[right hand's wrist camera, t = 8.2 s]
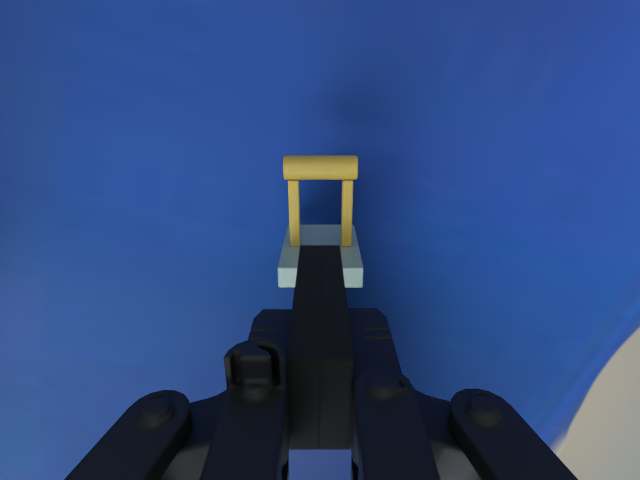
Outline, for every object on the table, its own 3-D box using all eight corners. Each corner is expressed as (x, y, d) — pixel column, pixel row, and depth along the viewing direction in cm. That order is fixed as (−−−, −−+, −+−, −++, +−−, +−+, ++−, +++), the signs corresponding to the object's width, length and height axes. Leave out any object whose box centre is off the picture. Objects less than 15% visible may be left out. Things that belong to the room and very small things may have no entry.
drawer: (284, 145, 25) (272, 167, 19) (356, 145, 25) (368, 167, 18) (294, 424, 34) (288, 501, 27) (347, 424, 34) (353, 501, 27)
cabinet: (284, 334, 31) (272, 421, 23) (357, 334, 31) (368, 421, 23) (291, 499, 39) (284, 606, 31) (350, 499, 39) (357, 607, 31)
